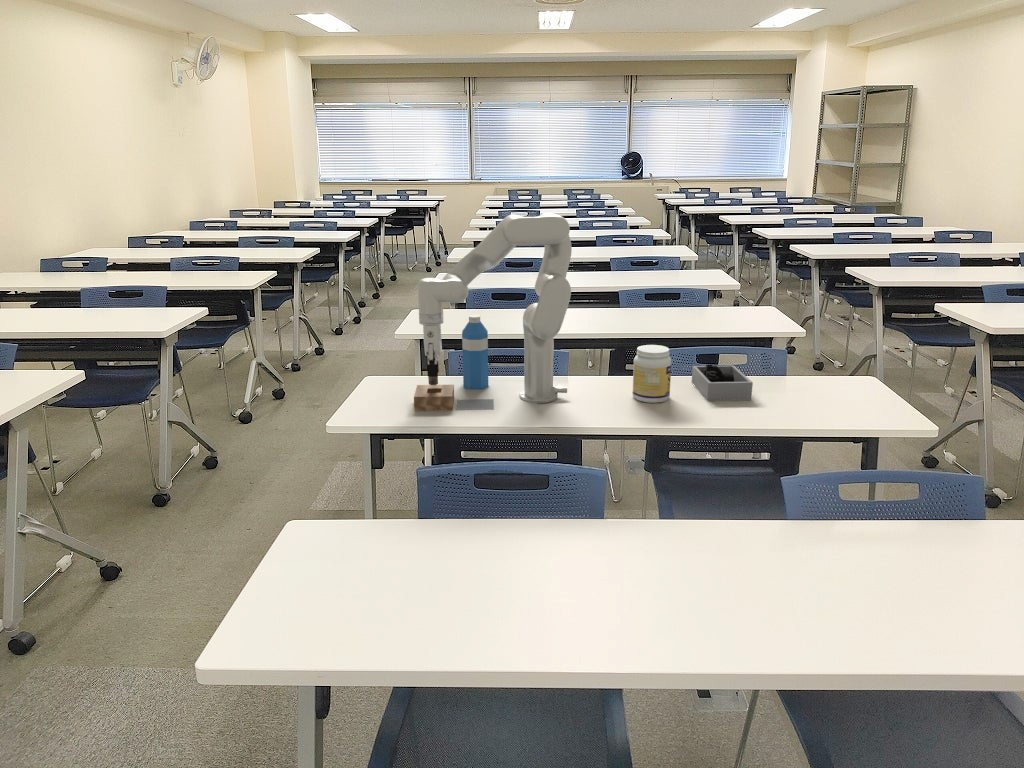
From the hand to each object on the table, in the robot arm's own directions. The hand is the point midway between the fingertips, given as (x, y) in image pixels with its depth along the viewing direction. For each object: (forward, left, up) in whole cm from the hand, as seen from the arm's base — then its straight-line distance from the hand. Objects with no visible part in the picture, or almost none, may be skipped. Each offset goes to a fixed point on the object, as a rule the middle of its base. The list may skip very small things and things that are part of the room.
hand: (433, 374), depth 236 cm
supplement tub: (-71, -4, -11) cm, 72 cm away
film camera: (-95, -10, -11) cm, 96 cm away
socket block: (0, 0, -11) cm, 11 cm away
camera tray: (-96, -10, -11) cm, 97 cm away
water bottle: (-13, -19, -11) cm, 25 cm away
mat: (-13, +1, -11) cm, 17 cm away
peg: (0, 0, -3) cm, 3 cm away
